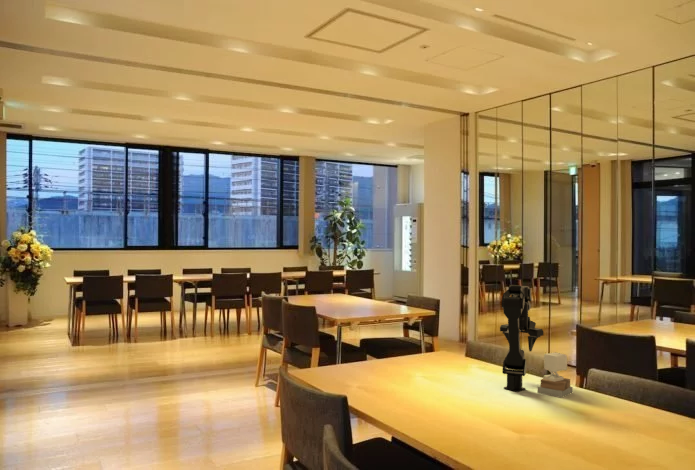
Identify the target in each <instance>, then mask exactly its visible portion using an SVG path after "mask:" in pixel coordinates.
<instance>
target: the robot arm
mask: <svg viewBox="0 0 695 470" xmlns="http://www.w3.org/2000/svg"><path fill="white" fill-rule="evenodd" d="M532 300H533V299H532V289H531V288H530V286H528V285H520V284H519V285H518V284H511V285H509V286H508V289H507V290H506V291H504V293H503V294H502V298H501V308H502V310H503V311H502V312H503V314H504V316H505V317H506V318H507V323H505V324H501V325H500V326H499V332H501V333H502V334H503V335H504V337H505V339H506V340H507V342H508V345H509V346H508V347H509V349H508V350H507V352H506V355H505V357H504V359H503V361H502V363H503V364H502V374H503V375H506V386H504V387H503V390H509V391H513V392H520V391H521V392H522V391H524V390H526V387H523V377H525V376H526V375H527V359H526V358H525V350H524V349H522V348H521V337H520V335H521V334H520V333H523V334H528V336H527V342H528V351H529V352H532V351H533V348H534V346H535V343H536V341H537V340H538V338H541V337H542V336H544V333H545V332H544V330H543V328H540V327H536V324H537V323H536V322H535V321H533V320H531V316H529V311H531V308H532V305H531V302H532Z"/></svg>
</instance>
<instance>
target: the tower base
mask: <svg viewBox="0 0 695 470" xmlns="http://www.w3.org/2000/svg"><path fill="white" fill-rule="evenodd" d="M573 389H574V387H573V386H570V387H569V388H567V389H566V390H564V391H560V390H554V389H548V388H542V387H541V385H538V386H537V393H539V394H542V395H549V396H553V397H558V398H563V396H564V397H565V395H566V396H569V395H571V394H573V393H572V392H574V390H573ZM570 393H571V394H570ZM568 394H569V395H568Z"/></svg>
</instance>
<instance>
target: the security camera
mask: <svg viewBox="0 0 695 470" xmlns="http://www.w3.org/2000/svg"><path fill="white" fill-rule="evenodd" d="M543 368H544V370H545V371H549V373H550V374H545V375H543V378H544V379H546V380H550V381H553V382H556V381H561V380H564V378H565V377H564V376H561V375H560V374H559V373H558V372H562V371H567V370H568V355H567V354H564V353H560V352H551V353H550V352H548V353H544V355H543Z"/></svg>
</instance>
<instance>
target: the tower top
mask: <svg viewBox="0 0 695 470" xmlns="http://www.w3.org/2000/svg"><path fill="white" fill-rule="evenodd" d="M540 386H541V387H542V388H548V389H554V390H560V391H564V390H566V389H567V388H569V387H571V379H570V378H565V377H564V380H561V381H556V382H553V381H550V380H546V379H544V377H542V378H541V379H540Z"/></svg>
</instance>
